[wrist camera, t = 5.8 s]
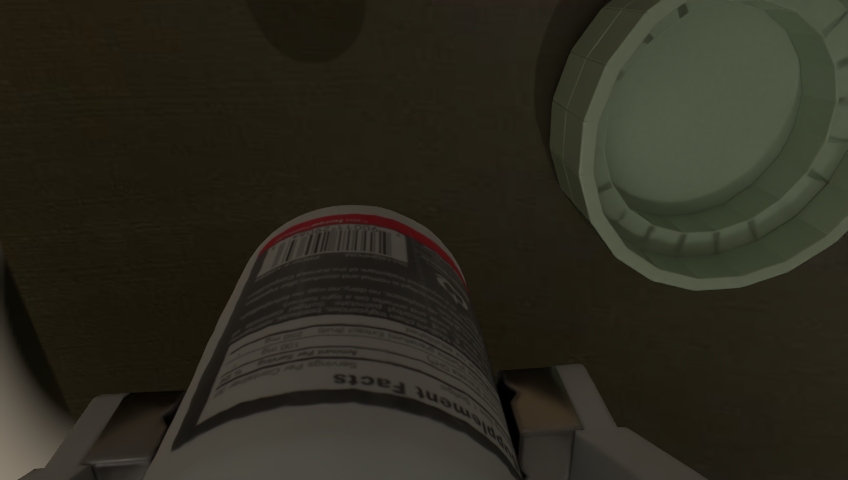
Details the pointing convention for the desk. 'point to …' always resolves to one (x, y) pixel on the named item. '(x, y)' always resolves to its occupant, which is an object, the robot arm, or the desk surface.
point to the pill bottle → (344, 364)
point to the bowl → (708, 135)
